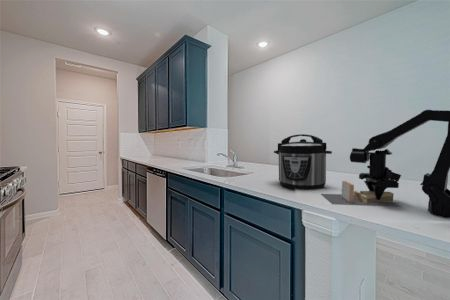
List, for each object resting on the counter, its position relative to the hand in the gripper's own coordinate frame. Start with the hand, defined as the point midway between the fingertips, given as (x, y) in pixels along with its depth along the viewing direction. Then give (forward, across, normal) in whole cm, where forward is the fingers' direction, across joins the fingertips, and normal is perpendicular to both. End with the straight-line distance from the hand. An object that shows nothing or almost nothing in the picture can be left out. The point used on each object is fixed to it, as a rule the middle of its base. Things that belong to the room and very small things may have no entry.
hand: (376, 198), depth 89 cm
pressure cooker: (+2, +29, +26) cm, 39 cm away
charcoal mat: (+2, +1, +8) cm, 8 cm away
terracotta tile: (+1, 0, +12) cm, 12 cm away
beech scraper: (+1, 0, 0) cm, 1 cm away
